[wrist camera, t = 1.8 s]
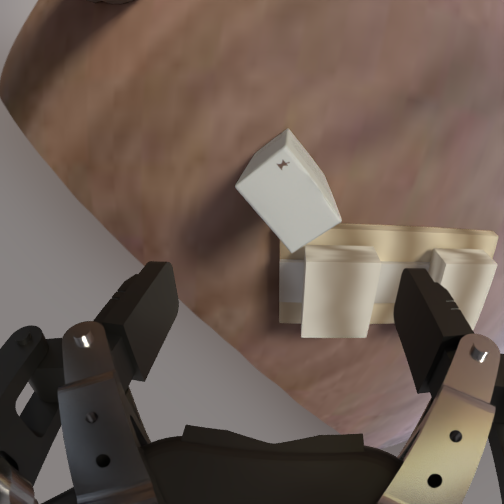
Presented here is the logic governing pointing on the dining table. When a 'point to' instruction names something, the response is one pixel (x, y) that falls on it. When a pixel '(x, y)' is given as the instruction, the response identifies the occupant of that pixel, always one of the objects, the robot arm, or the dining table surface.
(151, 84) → the dining table surface
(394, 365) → the dining table surface
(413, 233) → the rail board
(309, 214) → the skincare box
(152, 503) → the robot arm
